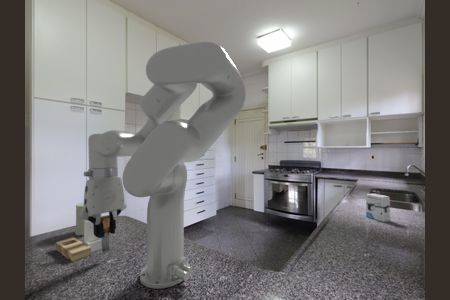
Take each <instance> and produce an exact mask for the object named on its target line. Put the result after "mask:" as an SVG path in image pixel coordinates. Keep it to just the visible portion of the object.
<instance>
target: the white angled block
mask: <svg viewBox="0 0 450 300" xmlns="http://www.w3.org/2000/svg"><path fill="white" fill-rule="evenodd" d="M83 243H85V244H86V245H88V246H90V247H91V253H94V252H96V251H100V250H102V241H101V238H98V237H96V236H95V235H94V226H93V223H91V222H89V221H85V220H84V235H83Z"/></svg>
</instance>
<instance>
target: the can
mask: <svg viewBox="0 0 450 300" xmlns="http://www.w3.org/2000/svg"><path fill="white" fill-rule="evenodd" d="M83 208H84V201H83V202H79V203H77V204H75V232H74V234H75V235H76V236H80V235H83V236H84V220H85V219H81V218H79V215H80V214H81V212H82V210H83ZM102 214H103V213H102ZM102 214H101V216H103V215H102ZM87 215H89V216H92V214H90V213H87ZM85 221H88V220H85ZM89 222H90V221H89Z"/></svg>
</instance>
